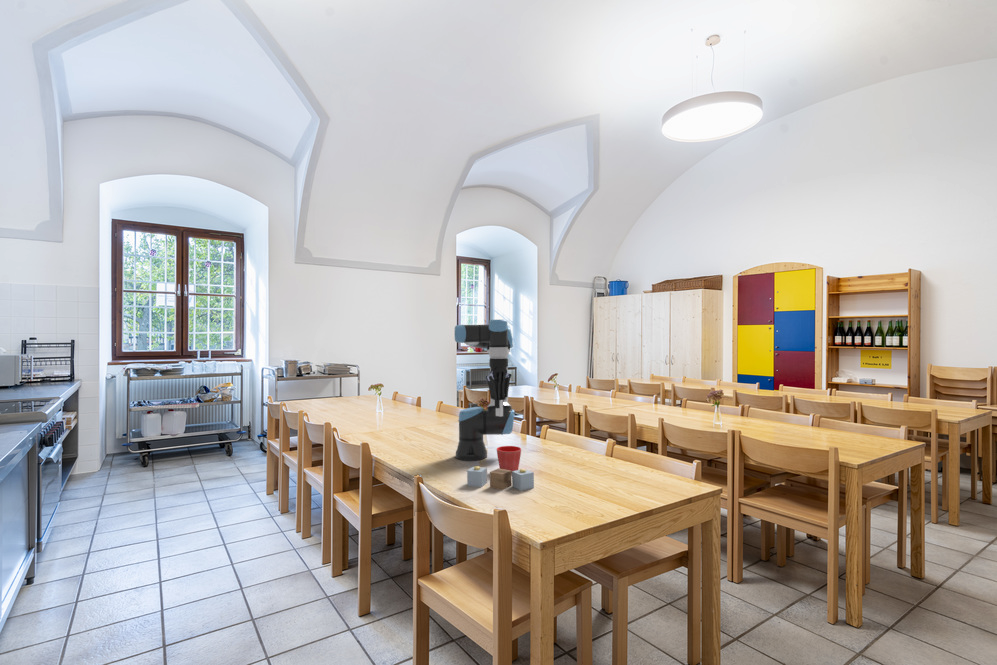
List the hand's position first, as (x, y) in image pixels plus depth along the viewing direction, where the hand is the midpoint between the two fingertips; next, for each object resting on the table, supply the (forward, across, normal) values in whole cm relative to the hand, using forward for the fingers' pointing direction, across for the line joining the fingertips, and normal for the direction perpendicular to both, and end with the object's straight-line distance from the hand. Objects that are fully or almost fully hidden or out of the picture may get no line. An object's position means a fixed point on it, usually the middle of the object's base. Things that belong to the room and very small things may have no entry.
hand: (499, 415), depth 203 cm
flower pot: (+26, -12, -6) cm, 29 cm away
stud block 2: (+26, +1, +13) cm, 29 cm away
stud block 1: (+26, +10, -3) cm, 28 cm away
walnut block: (+26, +6, +6) cm, 27 cm away
